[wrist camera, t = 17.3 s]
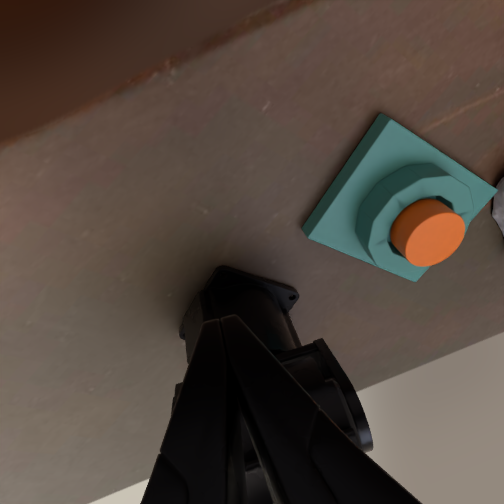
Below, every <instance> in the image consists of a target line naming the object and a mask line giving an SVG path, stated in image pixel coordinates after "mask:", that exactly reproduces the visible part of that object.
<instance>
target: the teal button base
mask: <svg viewBox="0 0 504 504" xmlns="http://www.w3.org/2000/svg"><path fill="white" fill-rule="evenodd" d="M497 191H498V189H496V188H495V187H493V186H492V185H490V184H489V183H487V182H486V181H484V180H483V179H481V178H480V177H478V176H477V175H475V174H474V173H472V172H471V171H469V170H468V169H466V168H465V167H463V166H462V165H460V164H459V163H457V162H456V161H454V160H453V159H451V158H450V157H448V156H447V155H445V154H444V153H442V152H441V151H439V150H438V149H436V148H435V147H433V146H432V145H430V144H429V143H427V142H426V141H424V140H423V139H421V138H420V137H418V136H417V135H415V134H414V133H412V132H411V131H409V130H408V129H406V128H405V127H403V126H402V125H400V124H399V123H397V122H396V121H394V120H393V119H391V118H389V117H387V116H386V115H384V114H382V113H380V114H379V115H378V117H377V118H376V120H375V121H374V123H373V124H372V126H371V127H370V129H369V130H368V132H367V133H366V135H365V136H364V137H363V139H362V140H361V142H360V143H359V145H358V146H357V148H356V149H355V151H354V152H353V154H352V155H351V157H350V158H349V159H348V161H347V162H346V164H345V165H344V167H343V168H342V170H341V171H340V173H339V174H338V176H337V177H336V179H335V180H334V181H333V183H332V184H331V186H330V187H329V189H328V190H327V192H326V193H325V195H324V196H323V198H322V199H321V201H320V202H319V203H318V205H317V206H316V208H315V209H314V211H313V212H312V214H311V215H310V217H309V218H308V220H307V221H306V222H305V224H304V225H303V227H302V230H303V232H304V233H305V235H306V236H307V238H308V239H311V240H313V241H316V242H318V243H321V244H323V245H325V246H328V247H330V248H333V249H335V250H338V251H340V252H342V253H345V254H347V255H350V256H352V257H355V258H357V259H359V260H362V261H364V262H367V263H369V264H372V265H374V266H377V267H379V268H381V269H384V270H386V271H389V272H391V273H394V274H396V275H398V276H401V277H403V278H406V279H408V280H411V281H413V282H416V281H417V280H418V279H419V278H420V277H421V276H422V275H423V273H424V272H425V271H426V270H427V269H428V268H429V267H430V266H426V267H420V266H415V265H413V264H411V263H410V262H409V261H408V260H407V259H406V258H405V257H404V256H403V255H402V254H401V253H400V252H399V251H398V250H397V248H396V247H395V246H394V245H393V244H392V242H391V238H390V231H391V227H392V224H393V222H394V220H395V218H396V217H397V216H398V215H399V213H400V212H401V211H402V210H403V209H404V208H406V207H407V206H408V205H410V204H412V203H414V202H416V201H418V200H421V199H428V198H430V199H436V200H439V201H441V202H442V203H443V204H445V205H446V206H447V207H449V208H450V209H451V210H453V211H454V212H455V213H457V214H458V215H459V216H460V217H461V218H462V219H463V221H464V224H465V233H466V231H467V228H468V226H469V223H470V221H471V220H472V219H473V218H474V217H475V216H476V215H477V214H478V212H479V211H480V210H481V209H482V208H483V207H484V206H485V205H486V204H487V202H488V201H489V200H490V199H491V198H492V197H493V196H494V195H495V194H496V192H497ZM464 236H465V234H464Z"/></svg>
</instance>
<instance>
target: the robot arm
mask: <svg viewBox="0 0 504 504" xmlns="http://www.w3.org/2000/svg"><path fill="white" fill-rule="evenodd" d="M222 272H225V274H224V275H220V273H222ZM291 295H293V296H291ZM289 296H291V297H289ZM298 298H299V294H298V292H297V290H296V289H294V288H291V287H288V286H285V285H282V284H279V283H276V282H273V281H270V280H267V279H264V278H261V277H258V276H254V275H251V274H248V273H245V272H242V271H239V270H236V269H233V268H230V267H227V266H219V267H217V268H216V269H215V271H214V272H213V274H212V276H211V277H210V279H209V281H208V282H207V284H206V286H205V287H204V289H203V290H201V291H199V292H198V294H197V295H196V297H195V299H194V300H193V302H192V304H191V305H190V307H189V309H188V311H187V312H186V314H185V316H184V317H183V321H184V322H183V324H182V326H181V327H180V329H179V336H180V338H181V339H184V340H185V342H186V353H187V362H188V364H189V365H188V368H187V371H186V374H185V377H184V380H183V382H181V383H178V384H176V387H175V396H174V397H173V403H172V412H171V418H170V421H169V424H168V427H167V430H166V433H165V436H164V439H163V442H162V445H161V448H160V453H161V454H158V456H157V459H156V462H155V465H154V468H153V471H152V474H151V477H150V479H149V482H148V485H147V487H146V490H145V493H144V496H143V498H142V501H141V503H140V504H422V503H421V502H420V501H418V499H416V498H415V497H414V496H413V495H412V494H411V493H410V492H408V491H407V490H406V489H405V488H404V487H403V486H402V485H400V484H399V483H398V482H397V481H396V480H395V479H393V478H392V477H391V476H390V475H389V474H388V473H387V472H386V471H385V470H383V469H382V468H381V467H380V466H379V465H378V464H377V463H375V462H374V461H373V460H372V459H371V458H370V457H369V456H367V454H365V453H366V452H368V451H372V450H373V440H372V436H371V432H370V428H369V425H368V422H367V419H366V416H365V413H364V410H363V408H362V405H361V403H360V400H359V398H358V396H357V394H356V391H355V389H354V387H353V385H352V384H351V382H350V380H349V379H348V377H347V375H346V374H345V372H344V371H343V369H342V368H341V366H340V365H339V363H338V361H337V360H336V358H335V357H334V355H333V354H332V352H331V351H330V349H329V348H328V346H327V344H326V343H325V341H324V340H323V338H321V339H317V340H314V341H313V343H310V344H307V345H304V346H302V345H301V343H300V340H299V338H298V336H297V333H296V331H295V328H294V326H293V324H292V321H291V319H290V316H289V314H288V312H289V311H290V309H291V308H292V307H293V305H294V304H295V303H296V301H297V300H298Z"/></svg>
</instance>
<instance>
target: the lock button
mask: <svg viewBox="0 0 504 504" xmlns="http://www.w3.org/2000/svg"><path fill="white" fill-rule="evenodd" d="M464 234H465V224H464V221H463V219H462V218H461V217H460V216H459V215H458V214H457V213H455V212H454V211H453V210H451V209H450V208H449V207H447V206H446V205H445V204H443V203H442V202H441V201H439V200H436V199H430V198H428V199H421V200H418V201H416V202H414V203H412V204H410V205H408V206H407V207H406V208H404V209H403V210H402V211H401V212H400V213H399V215H398V216H397V217H396V218H395V220H394V222H393V224H392V227H391V231H390V238H391V242H392V244H393V245H394V246H395V247H396V248H397V250H398V251H399V252H400V253H401V254H402V255H403V256H404V257H405V258H406V259H407V260H408V261H409V262H410V263H411V264H413V265H415V266H420V267H426V266H431V265H434V264H437V263H439V262H441V261H443V260H444V259H446V258H447V257H449V256H450V255H451V254H452V253H453V252H454V251H455V250H456V249H457V248H458V246H459V245H460V243H461V242H462V239H463V237H464Z"/></svg>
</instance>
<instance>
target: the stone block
mask: <svg viewBox="0 0 504 504" xmlns="http://www.w3.org/2000/svg"><path fill="white" fill-rule="evenodd" d="M496 189H498V191H497V192H496V194H495V195H494V201H493V212H492V216H493V218H494V219H495V220H496V221H497V224H498V226H499V227H500V229H501V231H502V233H503V235H504V176H503V177H502V179H501V180H500V182H499V183H498V185H497V186H496Z"/></svg>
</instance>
